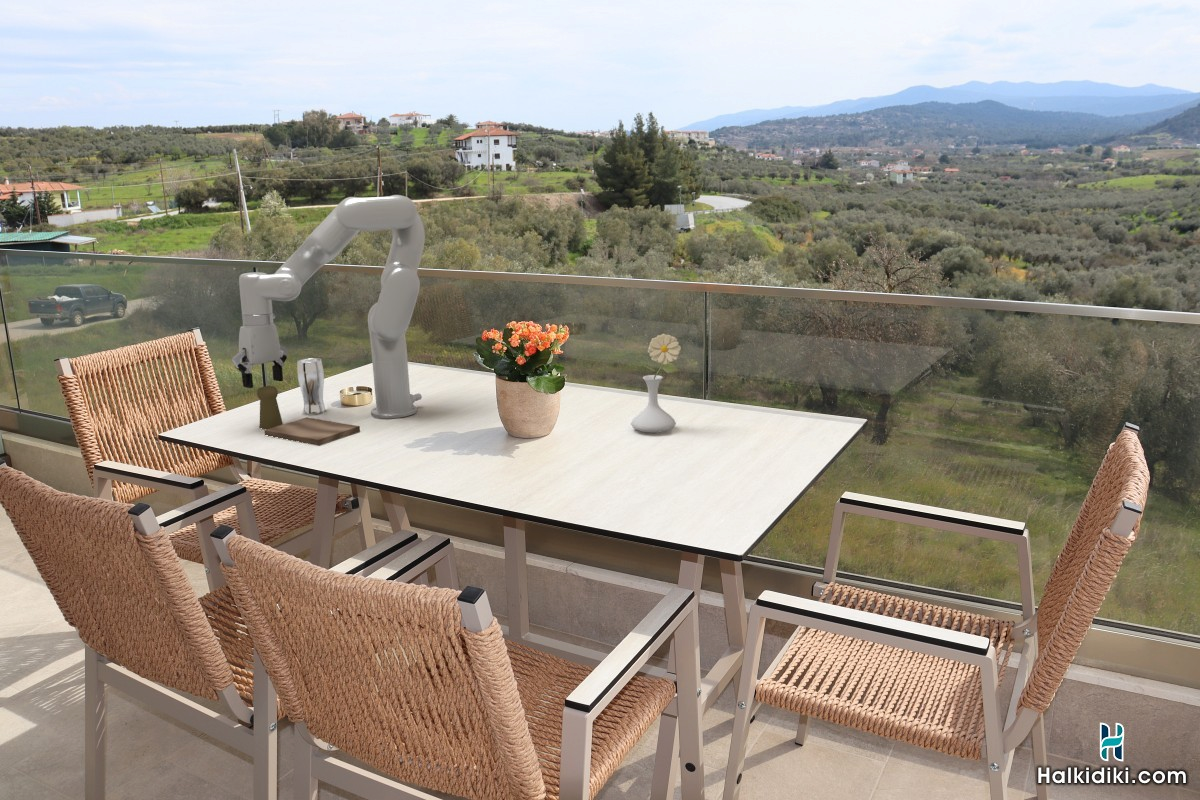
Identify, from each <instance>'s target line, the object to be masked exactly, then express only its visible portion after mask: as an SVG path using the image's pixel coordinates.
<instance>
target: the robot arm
mask: <svg viewBox="0 0 1200 800" xmlns="http://www.w3.org/2000/svg"><path fill="white" fill-rule="evenodd" d="M389 230H392V240H391V244H390V247H389V252H388V256H387V259H386V262H385V265H384V268H383V271H382V272H381V273H382V274H381V276H380V285H381V289H380V293H379V297H378V299H377V302H376V303H374V304H373V305H372V306H371V307H370V309H369V310H368V314H367V326H368V327H367V328H368V334H369V341H370V352H371V360H372V361H371V362H372V374H373V383H374V395H375V396H374V397H375V406H376V407H373V408H372V409H371V411H370V413H371V414H370V415H371V417H374V418H376V419H377V418H378V419H399V418H406V417H409V416H412V415H414V414H416V413H417V412H418V408H417V406H416V405H414V403H415V402H418V401H420V400H422V398H423V395H422V394H421V393H419V392H418V393H415V394H412V393H411V389H410V377H409V365H408V363H409V362H408V351H407V350H408V348H407V342H406V341H407V340H406V332H407V330H408V328H409V325H410V322H411V320H412V316H413V313H414V309H415V306H416V304H417V300H418V296H419V292H420V283H421V282H420V278H419V275H418V271H419V270H418V269H419V267H420V263H421V259H422V255H423V252H424V248H425V241H426V233H425V227H424V223H423V221H422V218H421V215H420V214H419V213H418V209H417V206H416V204H415V202H414V201H413V200H412V199H411V198H409V197H407V196H404V195H401V194H393V195H389V196H388V195H387V196H375V197H374V196H373V197H372V196H370V197H359V196H358V197H357V196H349V197H346V198H344V199H342V200H341V201H340V202H339V203H338V204H337V205H336V207H334V208H333V209H332V211H330V213H329V214H328V215H327V216H326V217H325V218H324V219H323V220H322V221H321V223H320V224H319V225H318V226H316V228H315V229H314V230H313V231H311V233H310V234H309V235H308V236H307V237H306V238H305V240H304V241H303V243H302V244H301V245H300V246H299V247H298V248H297V249H296V250H295V251H294V252H293V253H292V254H291V256H289V257H288V258H287V259H286V260H285V262H283V264H282V265H281V266H280V267H279V268H278V269H277V270H276V271H275V273H272V274H268V273H266V272H261V271H260V272H256V271H255V272H254V271H253V272H246V273H245V272H244V273H242V274H240V275H239V278H238V283H239V285H238V286H239V294H240V295H239V296H240V306H241V307H240V308H241V319H242V326H240V328H239V332H238V333H239V334H238V352H237V353H236V354H235V355H233V357H231V362H232V363H233V365H234V367H235V369H236V370H238V372H239V373H241V382H242V387H243V388H246V389H253V388H254V383H253V382H254V380H253V373H252V372H251V370H252V369H253V367H254V366H256V365H262V364H267V363H272V364H273V365H272V369H271V370H272V379H273V380H274V381H276V382H283V381H284V373H283V367H284V365H285V361H287V359H288V358H287V356H288V354H289V350H290V349H289V348H288V347H286V346H284V345H281V344H280V338H279V333H278V330H277V325H276V324H275V323H274V319H276V314H275V313H273V302H272V301H279V302H290V301H293V300H296V299H297V298H298V297H299V296H300V293H301V292H302V288H303V286H304V285H305V284H306V283H307V281H309V280H310V278H311V277H313V275H314V274H316V272H317V271H319V270H320V269H321V268H322V267H324V266H325V265H326V264H328V263H330V262H331V261H333V260H334V259H335V258H336V257H337V256H339V254H340V253H341V252H342V251H343V250H344V249H345V247H347V245H348V244H349V243H350V242H351V241H352V240H353V239H354V238H355V237H356V236H357V235H358V233H360V232H369V231H374V232H375V231H389Z"/></svg>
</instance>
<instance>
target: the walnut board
mask: <svg viewBox="0 0 1200 800" xmlns="http://www.w3.org/2000/svg"><path fill="white" fill-rule="evenodd" d="M263 430H264V436H265V435H268V436H267V437H269V436H273V437H272V438H275V437H278V438H277V439H280V438H283V439H282V440H286V439H288V440H287V441H291V440H293V441H292V442H296V441H299V442H298V443H302V442H303V443H302V444H307V443H308V444H307V445H313V446H322V445H325V444H328V443H330V442H334V441H336V440H339V439H343V438H345V437H348V436H351V435H354V434H357V433H360V432H361V426H360V425H356V424H349V423H345V422H344V423H343V422H339V421H338V422H337V421H330V420H325V419H320V418H319V419H318V418H314V417H304V418H300V419H297V420H293V421H289V422H287V423H283V425H280V426H276V427H273V428H270V429H266V430H265V429H263Z"/></svg>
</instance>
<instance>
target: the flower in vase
mask: <svg viewBox="0 0 1200 800" xmlns="http://www.w3.org/2000/svg"><path fill="white" fill-rule="evenodd" d="M679 344H680V342H679V341H678V339H677V338H676V337H675V336H672V335H670V334H665V333H662V334H659V335H656V336H655V337H652V338H651V341H650V342H649V345H648V348H647V353H648V354H649V357H650V359H651V361H654V362H656V363H657V364H661V365H660V367H659V369H658V370H657V371H656V369H653V368H652V367H649V366H647V365H645V364H644V363H642V365H643V366H644V367H645V368H646V369H648V370H651V371H653V372H655V374H649V375H644V376H642V379H643V380H644V382H645V383H646V387H647V391H648V402H647V405H646V407H645V408H644V409H643V410H642V411H640V412H639V413H638V414H637V415H636V416H634V418H633V419H632V421H631V422H630V425H631V427H632V428H633V429H635V430H637V431H639V432H642V433H643V432H644V433H662V432H663V433H664V432H666V431H669V430H671V429H673V428H674V427H675V425H676V424H677V423H676V421H675V419H674V418H673V417H672V415H670V413H668V412H666V411H665V410H664V409H663V408H661V406H660V405H659V402H658V392H659V386H660V383H661V381H662V379H663V378H664V377H663V376H662V375H658V374H659V372H660V371H661V370H663V371H664V372H665V373H666V374H672V373H673V374H674V373H676V372H679V371H680V370H679V369H678V367H676V365H675V364H673V363H672V362H674V361H677V360H678V358H679V354H680V352H681V350H682V349H681V348H682V347H681V345H679Z"/></svg>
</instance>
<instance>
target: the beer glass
mask: <svg viewBox="0 0 1200 800" xmlns="http://www.w3.org/2000/svg"><path fill="white" fill-rule="evenodd" d="M296 363H297V367H296V368H297V369H296V370H297V378H298V384H299V388H300V392H301V394H302V397H303V412H302V413H303V414H304V415H307V414H315V415H320V414H324V413H326V411H327V410H326V406H325V402H324V387H325V386H324V384H325V375H324V367H323V363H322V359H321V358H316V357H315V358H314V357H311V358H303V359H298V360H297V361H296ZM323 412H324V413H323Z"/></svg>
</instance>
